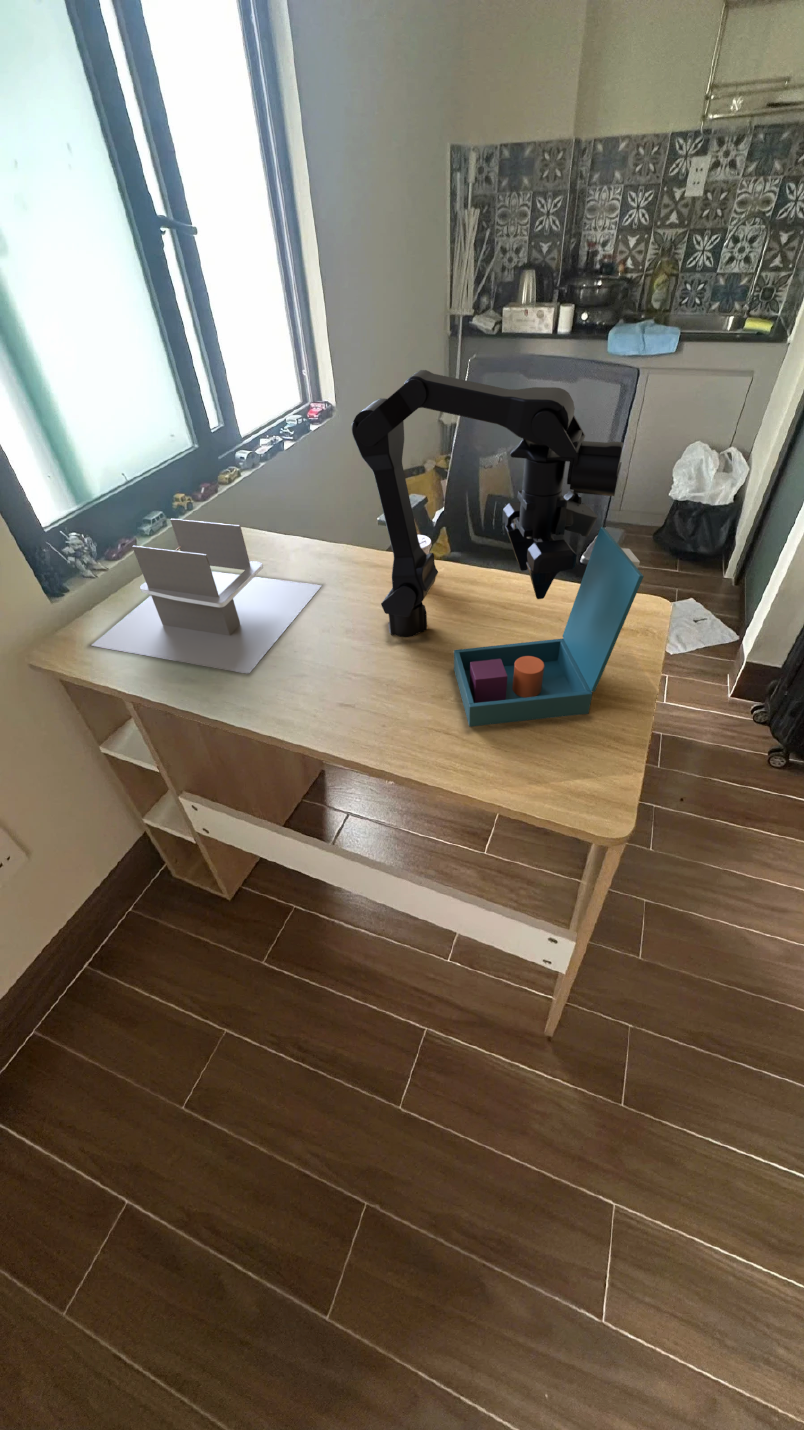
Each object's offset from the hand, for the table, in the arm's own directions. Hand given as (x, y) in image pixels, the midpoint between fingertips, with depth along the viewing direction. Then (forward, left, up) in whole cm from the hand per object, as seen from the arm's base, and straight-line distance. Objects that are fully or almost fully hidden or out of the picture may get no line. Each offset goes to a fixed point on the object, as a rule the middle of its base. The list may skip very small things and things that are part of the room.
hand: (531, 583), depth 97 cm
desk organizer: (-59, +23, -14) cm, 65 cm away
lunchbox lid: (+7, -11, +1) cm, 13 cm away
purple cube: (-9, -11, -13) cm, 19 cm away
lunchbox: (-4, -11, -13) cm, 18 cm away
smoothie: (-16, +27, -14) cm, 34 cm away
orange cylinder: (-3, -11, -13) cm, 17 cm away
